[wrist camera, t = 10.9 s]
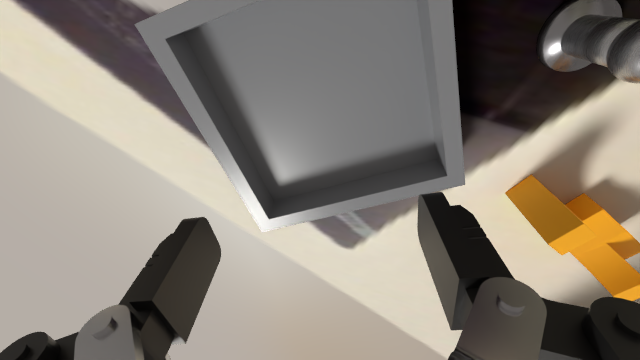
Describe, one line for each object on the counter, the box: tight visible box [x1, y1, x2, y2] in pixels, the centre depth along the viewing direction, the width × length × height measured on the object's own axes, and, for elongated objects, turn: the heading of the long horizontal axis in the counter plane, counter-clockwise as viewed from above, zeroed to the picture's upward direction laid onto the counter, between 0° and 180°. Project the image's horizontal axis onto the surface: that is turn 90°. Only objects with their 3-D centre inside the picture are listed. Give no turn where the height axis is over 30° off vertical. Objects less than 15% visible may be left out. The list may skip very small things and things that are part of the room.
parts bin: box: [135, 0, 465, 232], centre depth 20 cm, size 17×17×4 cm
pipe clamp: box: [505, 175, 640, 301], centre depth 25 cm, size 12×4×6 cm, turn 53°
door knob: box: [536, 0, 640, 83], centre depth 16 cm, size 4×4×7 cm
